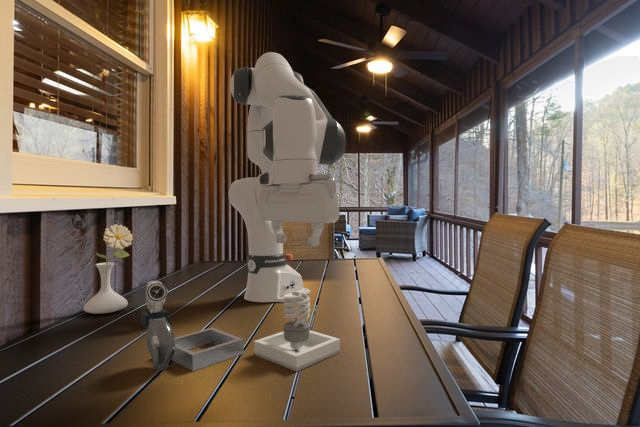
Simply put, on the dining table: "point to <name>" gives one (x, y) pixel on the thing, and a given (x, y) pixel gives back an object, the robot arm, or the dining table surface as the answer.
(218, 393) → the dining table surface
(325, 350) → the tray
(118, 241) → the flower in vase
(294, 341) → the light bulb
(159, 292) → the watch
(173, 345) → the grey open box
